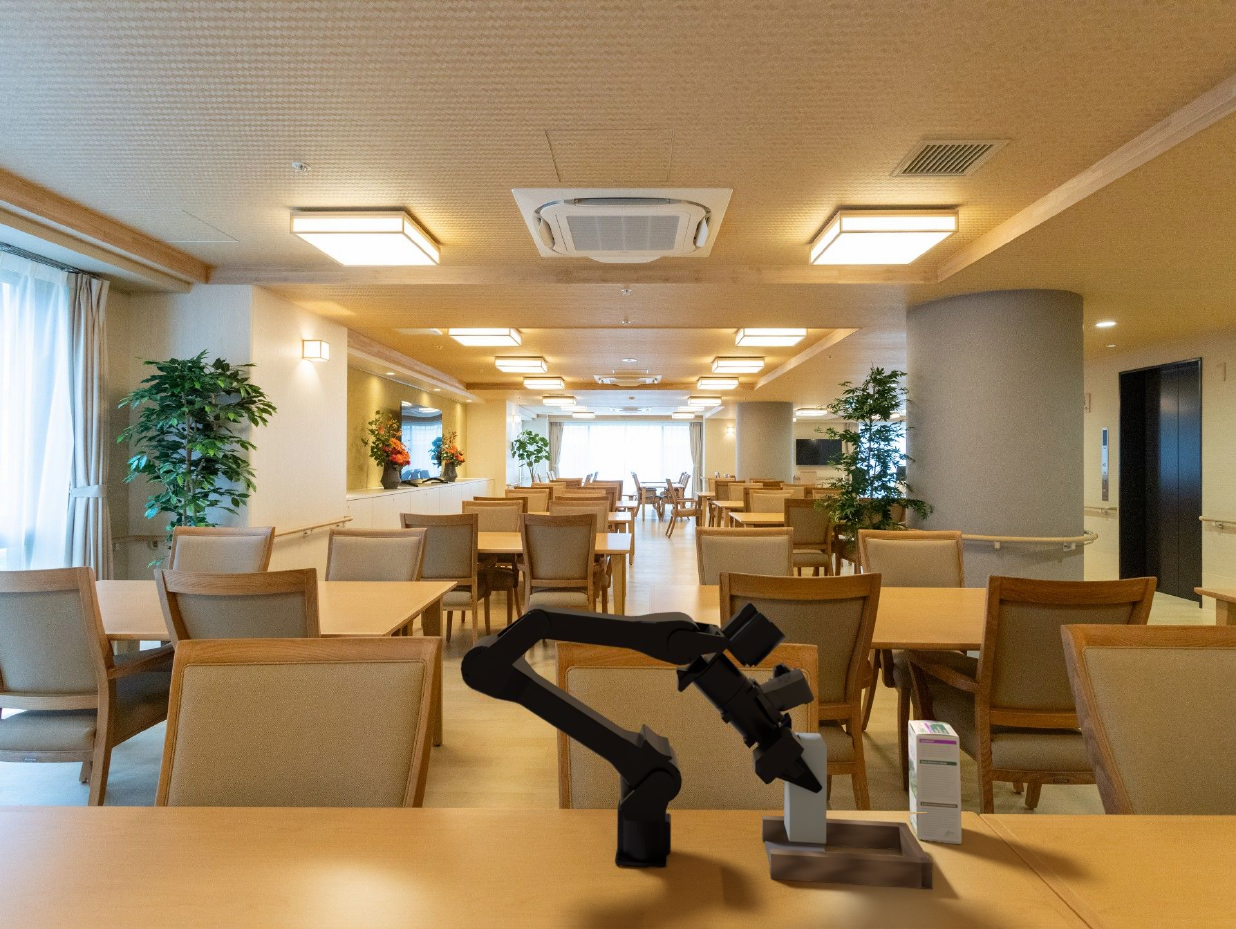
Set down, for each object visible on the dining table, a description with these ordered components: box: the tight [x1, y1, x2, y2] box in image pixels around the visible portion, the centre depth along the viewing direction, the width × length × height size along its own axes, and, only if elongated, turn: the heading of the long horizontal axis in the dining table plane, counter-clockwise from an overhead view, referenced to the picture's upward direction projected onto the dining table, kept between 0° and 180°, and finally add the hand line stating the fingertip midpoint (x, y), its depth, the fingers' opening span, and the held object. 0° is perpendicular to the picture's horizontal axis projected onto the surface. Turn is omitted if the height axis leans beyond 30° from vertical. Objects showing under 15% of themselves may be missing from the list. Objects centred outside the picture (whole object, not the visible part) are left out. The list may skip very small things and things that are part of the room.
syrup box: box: [907, 719, 963, 845], centre depth 96 cm, size 6×6×14 cm
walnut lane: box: [761, 814, 934, 890], centre depth 88 cm, size 19×10×3 cm, turn 85°
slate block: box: [783, 731, 828, 843], centre depth 89 cm, size 4×4×12 cm
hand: (816, 782), depth 89 cm, fingers closed on slate block, 4 cm apart
